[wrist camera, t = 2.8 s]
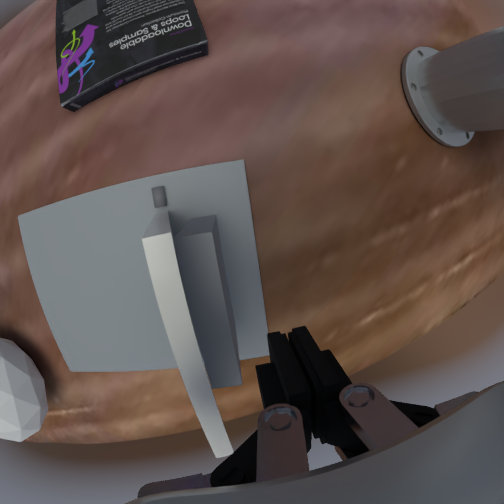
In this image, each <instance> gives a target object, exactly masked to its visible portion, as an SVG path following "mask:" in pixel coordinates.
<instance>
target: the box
mask: <svg viewBox="0 0 504 504" xmlns="http://www.w3.org/2000/svg"><path fill="white" fill-rule="evenodd" d="M206 55H208V40H207V37H206V34H205V31H204V29H203V26H202V23H201V20H200V18H199V15H198V12H197V9H196V7H195V4H194V1H193V0H57V6H56V61H57V74H58V84H59V95H60V103H61V106H62V107H63V108H65V109H68V110H71V111H76V110H77V109H79V108H81V107H83V106H84V105H86V104H88V103H90V102H91V101H93V100H95V99H97V98H99V97H101V96H103V95H105V94H107V93H109V92H111V91H113V90H115V89H117V88H119V87H121V86H123V85H125V84H128V83H130V82H132V81H134V80H137V79H139V78H141V77H144V76H146V75H149V74H151V73H154V72H156V71H159V70H162V69H164V68H167V67H170V66H173V65H176V64H179V63H182V62H185V61H188V60H192V59H195V58H198V57H202V56H206Z"/></svg>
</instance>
